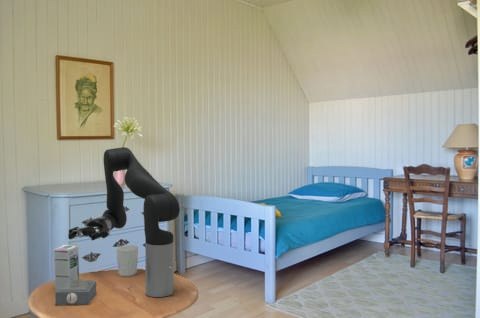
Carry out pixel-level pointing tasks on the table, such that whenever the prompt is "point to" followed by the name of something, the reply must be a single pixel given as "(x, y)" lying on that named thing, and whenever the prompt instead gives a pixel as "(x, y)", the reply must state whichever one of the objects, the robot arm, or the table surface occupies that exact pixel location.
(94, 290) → the scale
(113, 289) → the table surface
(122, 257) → the white cup
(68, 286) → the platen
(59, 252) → the syrup box
